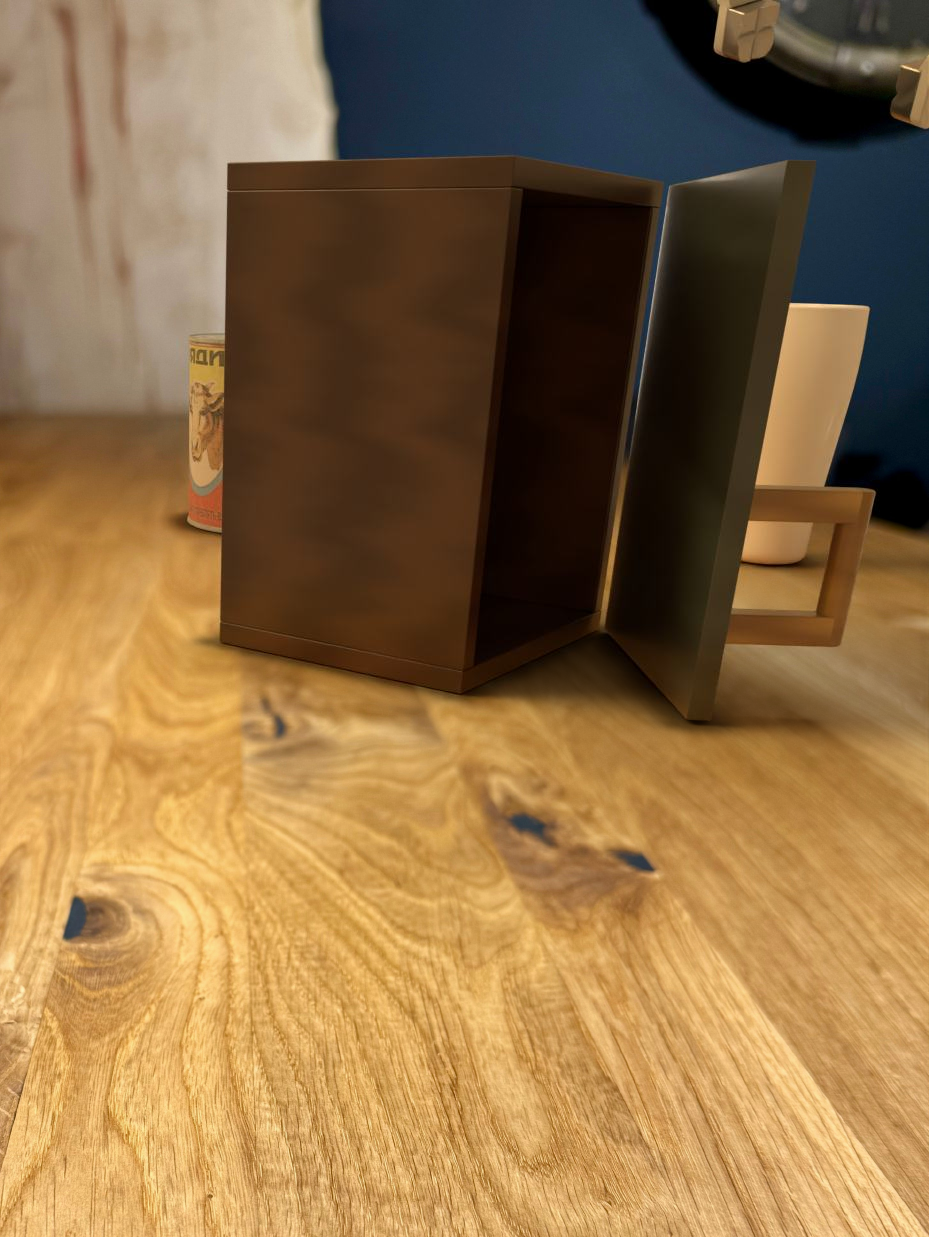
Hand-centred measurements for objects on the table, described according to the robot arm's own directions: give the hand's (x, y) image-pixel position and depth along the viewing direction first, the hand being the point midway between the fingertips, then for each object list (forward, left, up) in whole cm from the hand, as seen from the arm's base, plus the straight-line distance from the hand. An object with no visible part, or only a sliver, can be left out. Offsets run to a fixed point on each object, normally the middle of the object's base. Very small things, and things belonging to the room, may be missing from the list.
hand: (825, 85), depth 50 cm
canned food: (+38, -17, -23) cm, 48 cm away
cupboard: (+14, +4, -23) cm, 27 cm away
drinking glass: (+7, -29, -23) cm, 38 cm away
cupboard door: (0, +1, -23) cm, 23 cm away
